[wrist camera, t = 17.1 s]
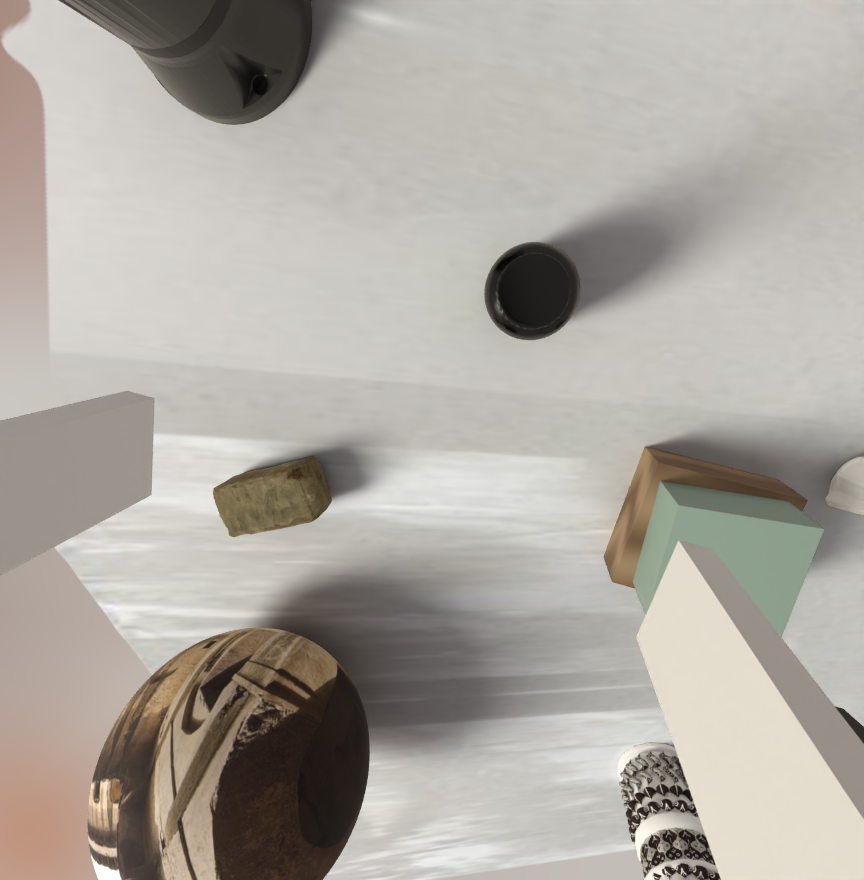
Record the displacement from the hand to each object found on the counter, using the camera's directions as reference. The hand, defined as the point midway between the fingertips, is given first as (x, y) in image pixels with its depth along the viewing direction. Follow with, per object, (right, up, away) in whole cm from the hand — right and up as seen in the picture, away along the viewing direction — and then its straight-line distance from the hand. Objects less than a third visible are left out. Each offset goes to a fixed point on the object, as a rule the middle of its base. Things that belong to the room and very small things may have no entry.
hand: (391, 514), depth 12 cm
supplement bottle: (+10, +15, +31) cm, 36 cm away
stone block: (-12, -2, +40) cm, 42 cm away
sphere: (-16, -27, +48) cm, 57 cm away
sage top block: (+25, -7, +30) cm, 39 cm away
